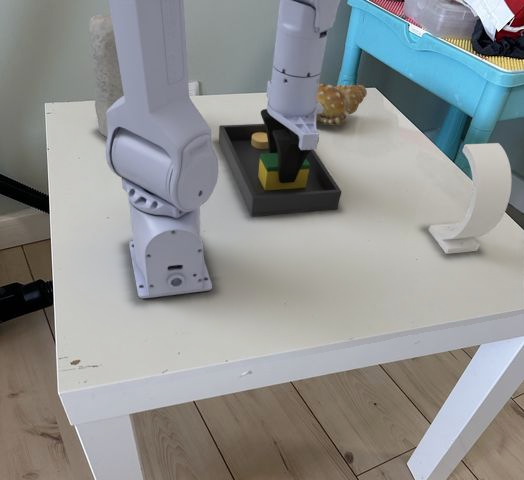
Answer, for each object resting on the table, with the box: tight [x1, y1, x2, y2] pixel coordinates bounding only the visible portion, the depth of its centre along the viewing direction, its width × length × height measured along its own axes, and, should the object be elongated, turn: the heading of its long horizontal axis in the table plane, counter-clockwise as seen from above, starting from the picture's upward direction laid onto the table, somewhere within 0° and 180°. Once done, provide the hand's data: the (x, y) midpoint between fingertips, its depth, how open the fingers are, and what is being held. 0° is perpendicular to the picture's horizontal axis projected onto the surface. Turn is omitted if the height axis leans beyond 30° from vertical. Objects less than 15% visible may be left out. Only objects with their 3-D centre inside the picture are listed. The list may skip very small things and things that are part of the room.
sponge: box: [258, 153, 310, 191], centre depth 69 cm, size 6×4×4 cm, turn 106°
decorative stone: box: [88, 13, 124, 138], centre depth 71 cm, size 11×6×15 cm, turn 131°
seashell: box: [316, 83, 368, 126], centre depth 83 cm, size 9×8×10 cm
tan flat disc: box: [251, 132, 269, 149], centre depth 76 cm, size 3×3×1 cm
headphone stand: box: [428, 142, 512, 255], centre depth 61 cm, size 5×6×12 cm
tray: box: [218, 123, 343, 217], centre depth 71 cm, size 19×12×3 cm, turn 16°
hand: (282, 173), depth 69 cm, fingers closed on sponge, 3 cm apart
